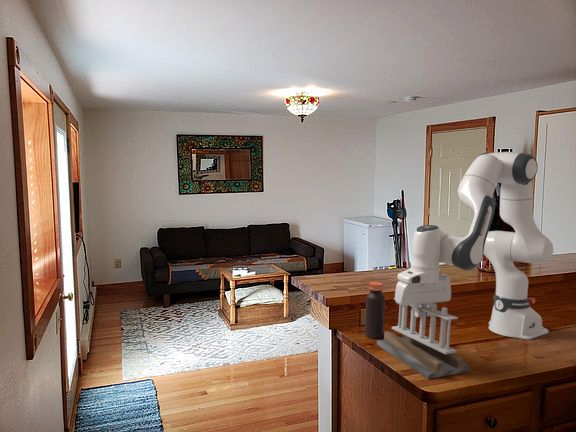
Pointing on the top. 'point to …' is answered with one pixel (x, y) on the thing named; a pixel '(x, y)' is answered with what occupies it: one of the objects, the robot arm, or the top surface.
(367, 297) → the bottle
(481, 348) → the top surface
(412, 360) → the cradle
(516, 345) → the top surface
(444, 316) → the test tube rack
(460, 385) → the top surface
